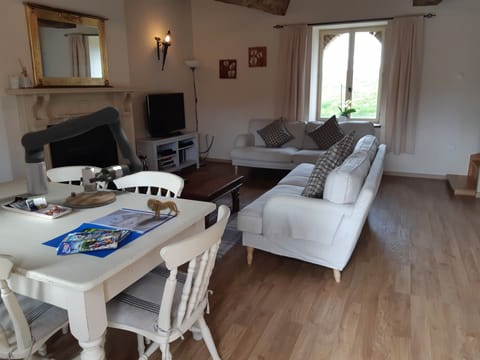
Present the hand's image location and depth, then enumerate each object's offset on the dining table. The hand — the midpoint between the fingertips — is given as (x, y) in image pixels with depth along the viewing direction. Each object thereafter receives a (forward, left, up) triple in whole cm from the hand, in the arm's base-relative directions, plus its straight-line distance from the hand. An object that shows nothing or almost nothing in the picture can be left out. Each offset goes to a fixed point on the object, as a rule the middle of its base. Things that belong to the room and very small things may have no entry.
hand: (85, 180), depth 181 cm
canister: (+1, +2, -7) cm, 7 cm away
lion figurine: (+43, -19, -11) cm, 49 cm away
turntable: (+1, +2, -10) cm, 10 cm away
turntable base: (+1, +2, -11) cm, 11 cm away
